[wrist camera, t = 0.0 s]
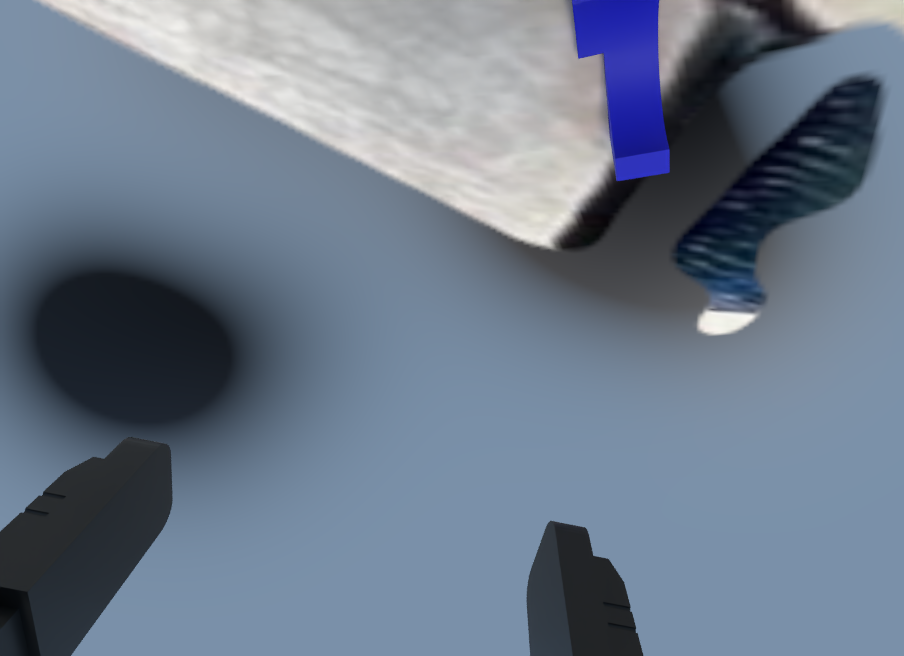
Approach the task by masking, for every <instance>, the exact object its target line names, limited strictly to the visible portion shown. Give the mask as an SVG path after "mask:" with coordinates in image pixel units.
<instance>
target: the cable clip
mask: <svg viewBox="0 0 904 656" xmlns="http://www.w3.org/2000/svg"><path fill="white" fill-rule="evenodd" d="M572 4H573V13H574V22H575V31H576V40H577V50H578V59H579V58H584V57H588V56H592V55H597V54H601V53H604V66H605V79H606V93H607V106H608V119H609V132H610V141H611V147H612V154H613V160H614V167H615V173H616V179H617V181H621V180H627V179H633V178H639V177H645V176H651V175H657V174H663V173H669V146H668V142H667V137H666V132H665V126H664V120H663V112H662V103H661V92H660V79H659V60H658V8H659V0H572Z"/></svg>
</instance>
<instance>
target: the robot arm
mask: <svg viewBox="0 0 904 656" xmlns="http://www.w3.org/2000/svg"><path fill="white" fill-rule="evenodd" d="M171 473H172V472H171V450H170V447H169V445H167V444H164V443H159V442H154V441H149V440H144V439H139V438H133V437H128V438H126V439H124V440H123V441H122V442H121V443H120V444H119V445H118V446H117V447H116V448H115V449H114V450H113V451H112V452H111V453H110V454H109V455H108V456H107V457H106V458H105V459H101V458H97V457H92V458H90V459H89V460H87V461H85V462H83V463H81V464H79V465H77V466H75V467H73V468H71V469H69V470H67V471H66V472H64V473H63V474H62V475H61V476H60V477H59V478H58V479H57V480H56V481H55V482H54V483H52V484H51V485H50V486H49V487H48V488H47V489H46V490H45V491H44V492H43V495H42V496H38V497H37V498H36V499H35V500H34V501H33V502H32V503H31V504H30V505H29V506H28V507H26V509H25V512H24V513H20V514H19V515H18V516H17V517H16V518H14V519H13V520H12V521H11V522H10V523H9V524H8V525H7V526H6V527H5V528H4V529H3V530H1V532H0V656H71V655H72V653H73V652H74V651H75V649H76V648H77V646H78V645H79V644H80V642H81V641H82V640H83V638H84V637H85V635H86V634H87V633H88V631H89V630H90V628H91V627H92V626H93V624H94V623H95V622H96V620H97V619H98V617H99V616H100V615H101V613H102V612H103V611H104V609H105V608H106V606H107V605H108V604H109V602H110V601H111V600H112V598H113V597H114V595H115V594H116V593H117V591H118V590H119V589H120V587H121V586H122V584H123V583H124V582H125V580H126V579H127V578H128V576H129V575H130V573H131V572H132V571H133V569H134V568H135V567H136V565H137V564H138V563H139V561H140V560H141V558H142V557H143V556H144V554H145V552H147V550H148V549H149V547H150V546H151V545H152V543H153V542H154V541H155V539H156V538H157V536H158V535H159V534H160V532H161V531H162V529H163V527H164V526H165V524H166V522H167V519H168V517H169V514H170V510H171V506H172V474H171ZM527 614H528V627H529V643H530V656H643V653H642V649H641V645H640V641H639V637H638V634H637V633H636V626H635V622H634V618H633V614H632V612H630V603H629V599H628V596H627V592H626V588H625V584H624V582H623V580H622V578H621V577H620V575H619V574H618V573H617V571H616V569H615V568H614V566H613V565H612V564H611V562H610V561H609V559H606V558H601V557H596V556H593V552H592V548H591V543H590V538H589V534H588V531H587V529H586V528H585V527H580V526H575V525H569V524H564V523H559V522H554V521H550V522H549V523H548V524H547V526H546V529H545V532H544V535H543V537H542V540H541V543H540V546H539V549H538V552H537V554H536V557H535V560H534V562H533V565H532V568H531V571H530V575H529V580H528V586H527Z"/></svg>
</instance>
